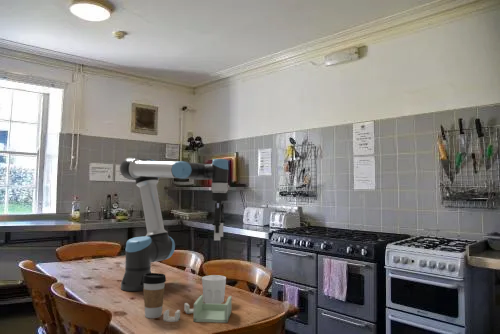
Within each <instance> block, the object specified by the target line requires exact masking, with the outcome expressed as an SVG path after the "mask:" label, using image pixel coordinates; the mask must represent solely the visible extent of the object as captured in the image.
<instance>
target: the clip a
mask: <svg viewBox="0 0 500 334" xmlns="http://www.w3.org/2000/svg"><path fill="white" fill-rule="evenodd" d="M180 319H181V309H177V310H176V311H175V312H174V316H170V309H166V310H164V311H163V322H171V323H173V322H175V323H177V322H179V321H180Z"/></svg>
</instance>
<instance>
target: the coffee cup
mask: <svg viewBox="0 0 500 334" xmlns="http://www.w3.org/2000/svg"><path fill="white" fill-rule="evenodd" d="M166 282H167V277H166V274H164V273H157V272H151V273H146V274H144V276H143V283H144V288H143V291H142V292H143V303H144V317H145V318H147V319H156V318H157V319H158V318H160V317H162V315H163V306H164V299H165V297H164V296H165V288H166V287H165V283H166Z"/></svg>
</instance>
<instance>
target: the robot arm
mask: <svg viewBox="0 0 500 334" xmlns="http://www.w3.org/2000/svg"><path fill="white" fill-rule="evenodd" d="M211 162H212V163H199V162H190V161H185V160H180V161H179V160H178V161H170V160H169V161H168V160H167V161H166V160H165V161H164V160H163V161H162V160H161V161H160V160H159V161H158V160H155V159H152V158H143V157H134V156H132V157H131V156H130V157H126V158H125V159H123V160H122V162H121V163H120V164H119V172H120V174H121V175H122V177H123V178H124V179H127V180H131V181H135V184H136V187H138V188H139V191H140V198H141V203H142V209H143V215H144V220H145V226H146V235H145V236H136V237H132V238H129V239H128V240H127V241H126V243H125V263H124V264H125V265H124V267H125V269H124V270H125V271H124V273H123V277H122V280H121V283H120V289H121V290H122V291H126V292H140V291H142V292H144V291H143V288H144V283H143V276H144V274H146V273H152V272H151V271H152V270H151V265H152V263H155V262H161V261H165V260H168V259H170V258H171V257H172V256H173V255H174V253H175V249H176V243H175V240H174V239H173V238H172V237H171V236H169V232H168V230H166V229H165V225H164V219H163V216H162V215H163V214H162V210H161V205H160V199H159V193H158V188H157V185H158V183H159V179H160V178H170V179H171V178H172V179H181V180H182V179H186V180H187V179H189V180H197V181H201V180H206V181H207V180H211V201H212V202H214V203H215V201H216V203H215V204H214V219H213V223H212V226H213V230H214V231H213V241H221V238H224V224H225V222H226V220H225V219H224V218H225V217H224V210H225V205H224V204H225V203H224V202H226V201H228V200H229V199H228V196H229V193H228V191H229V188H230V185H229V169H230V168H229V160H228V159H225V158H213V159H212V161H211Z"/></svg>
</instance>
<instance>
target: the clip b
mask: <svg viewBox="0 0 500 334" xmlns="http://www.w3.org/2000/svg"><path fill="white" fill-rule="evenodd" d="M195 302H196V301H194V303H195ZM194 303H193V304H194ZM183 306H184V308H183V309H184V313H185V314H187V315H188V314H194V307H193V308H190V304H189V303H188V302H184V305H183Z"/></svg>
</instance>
